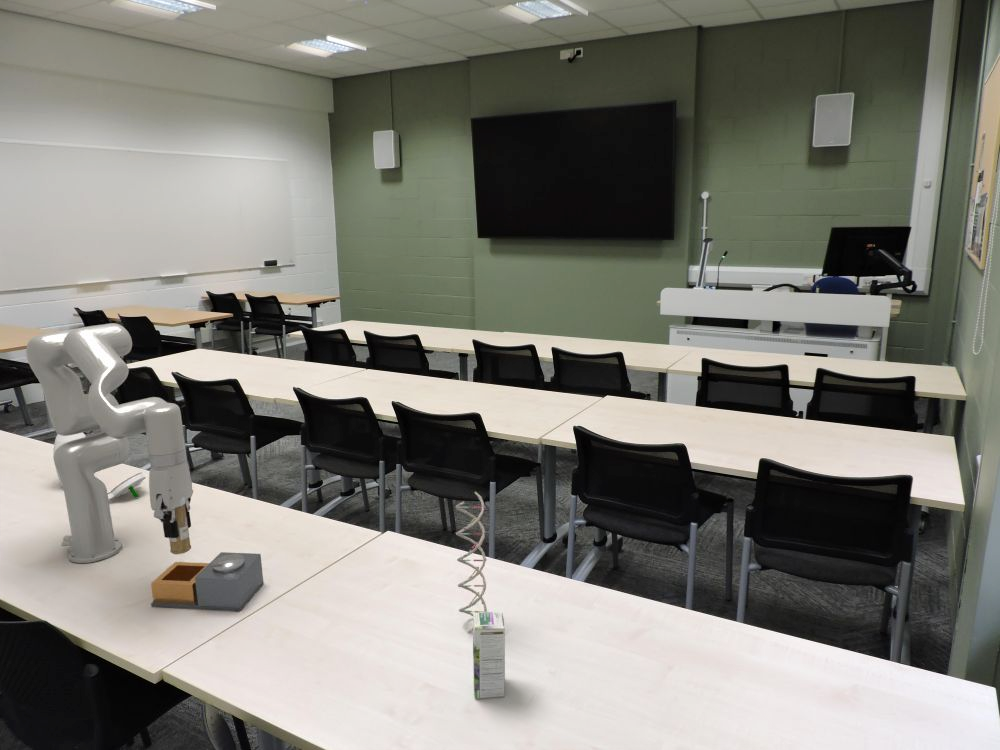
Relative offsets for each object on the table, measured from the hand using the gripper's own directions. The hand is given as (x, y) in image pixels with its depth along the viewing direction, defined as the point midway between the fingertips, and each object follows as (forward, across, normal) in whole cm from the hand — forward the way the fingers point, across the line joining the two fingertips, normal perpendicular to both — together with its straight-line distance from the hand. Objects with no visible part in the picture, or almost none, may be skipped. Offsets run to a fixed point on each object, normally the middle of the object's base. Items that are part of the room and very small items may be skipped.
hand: (178, 531), depth 162 cm
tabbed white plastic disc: (+16, -54, -51) cm, 76 cm away
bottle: (+16, -62, -74) cm, 98 cm away
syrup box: (+17, +27, +76) cm, 82 cm away
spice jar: (+5, 0, 0) cm, 5 cm away
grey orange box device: (+16, -2, +6) cm, 17 cm away
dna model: (+17, +7, +70) cm, 72 cm away
